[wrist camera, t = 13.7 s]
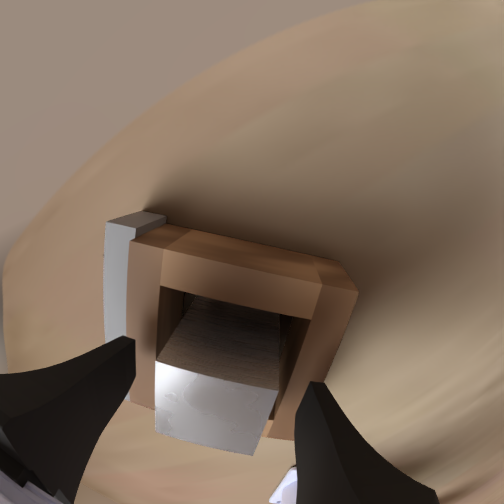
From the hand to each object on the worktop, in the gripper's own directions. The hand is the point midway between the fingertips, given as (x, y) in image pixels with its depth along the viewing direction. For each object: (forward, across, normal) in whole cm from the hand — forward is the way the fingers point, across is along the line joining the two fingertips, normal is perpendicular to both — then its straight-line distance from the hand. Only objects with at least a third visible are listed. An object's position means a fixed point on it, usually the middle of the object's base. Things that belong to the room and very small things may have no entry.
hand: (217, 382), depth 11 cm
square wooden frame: (+5, 0, 0) cm, 5 cm away
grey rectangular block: (+5, 0, 0) cm, 5 cm away
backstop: (+5, +5, 0) cm, 7 cm away
